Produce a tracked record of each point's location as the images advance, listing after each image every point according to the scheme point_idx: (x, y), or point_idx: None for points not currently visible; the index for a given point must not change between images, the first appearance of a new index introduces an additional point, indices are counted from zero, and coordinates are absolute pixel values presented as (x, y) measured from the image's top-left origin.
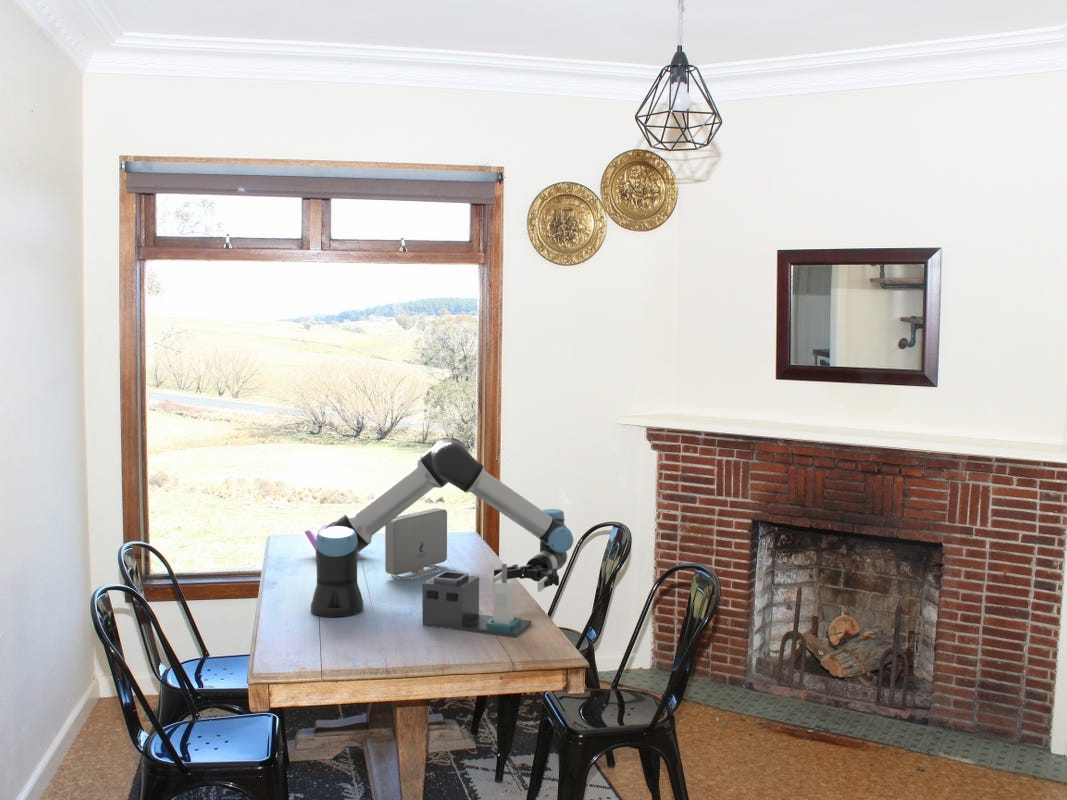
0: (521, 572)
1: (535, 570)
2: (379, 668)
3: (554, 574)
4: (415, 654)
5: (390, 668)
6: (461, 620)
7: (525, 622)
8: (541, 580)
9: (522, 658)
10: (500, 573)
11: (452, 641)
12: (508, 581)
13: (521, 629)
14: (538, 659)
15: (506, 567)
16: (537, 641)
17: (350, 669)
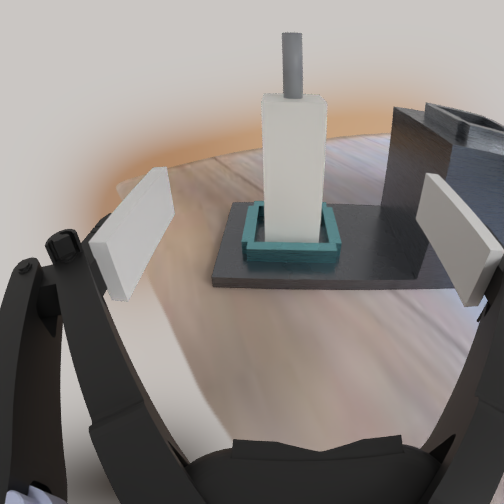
0: (444, 433)
1: (247, 467)
2: (366, 135)
3: (17, 322)
4: (362, 152)
5: (355, 135)
6: (384, 191)
7: (229, 261)
8: (144, 183)
9: (199, 165)
10: (474, 221)
11: (351, 179)
12: (281, 99)
13: (227, 221)
14: (173, 168)
15: (282, 42)
16: (179, 207)
17: (388, 134)
